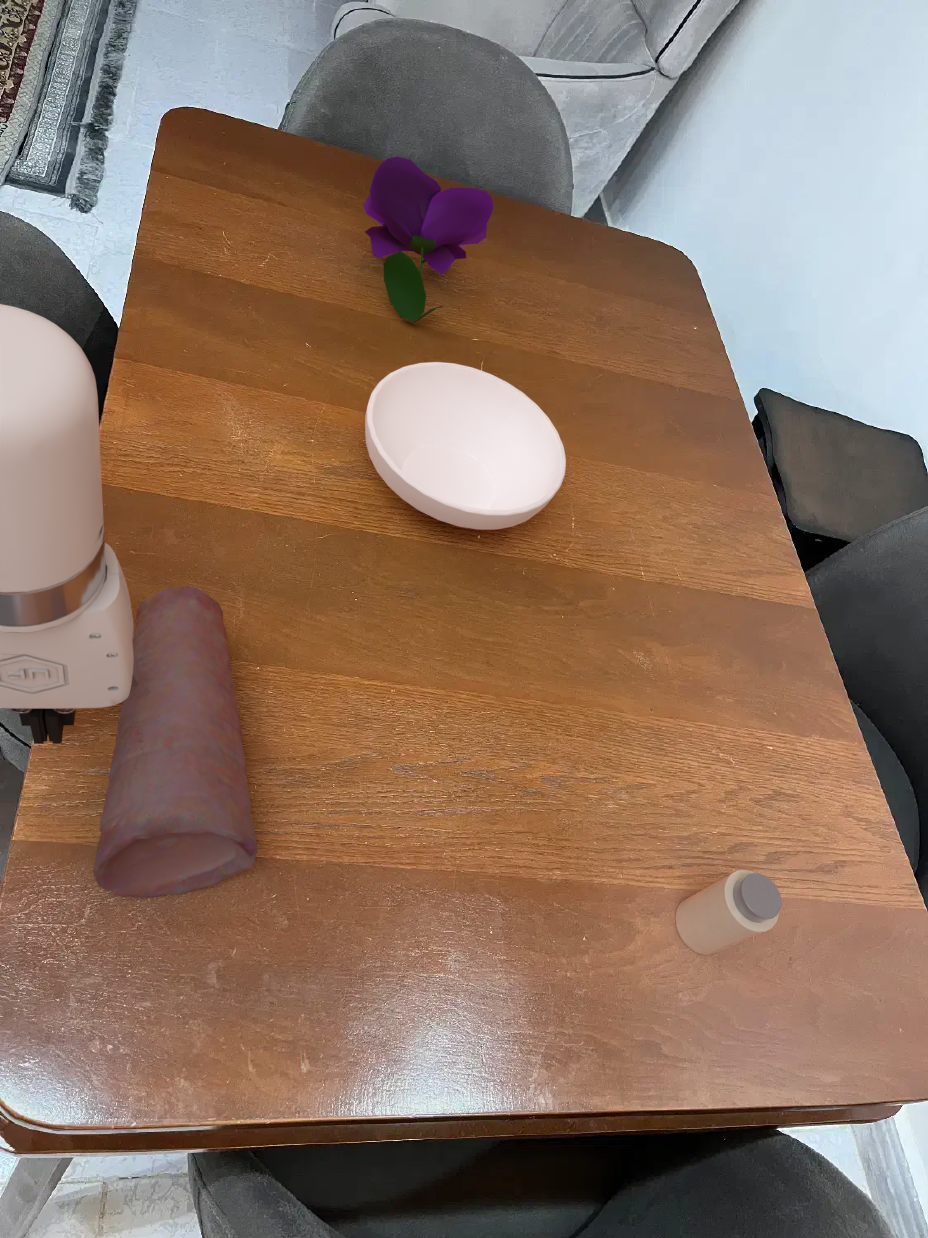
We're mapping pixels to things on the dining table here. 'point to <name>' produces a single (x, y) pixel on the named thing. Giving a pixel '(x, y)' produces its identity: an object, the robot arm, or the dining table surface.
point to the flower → (420, 228)
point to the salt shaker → (728, 912)
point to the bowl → (463, 445)
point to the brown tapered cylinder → (177, 759)
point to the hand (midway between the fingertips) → (50, 723)
